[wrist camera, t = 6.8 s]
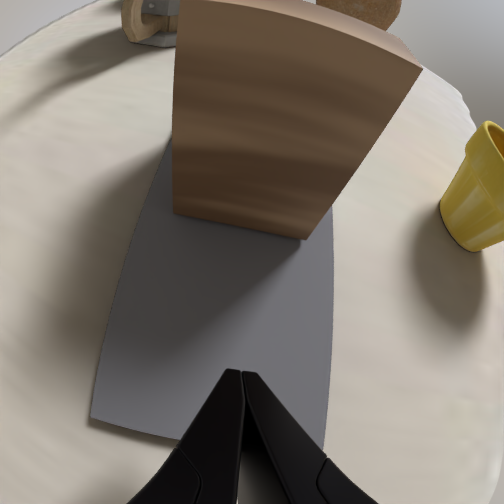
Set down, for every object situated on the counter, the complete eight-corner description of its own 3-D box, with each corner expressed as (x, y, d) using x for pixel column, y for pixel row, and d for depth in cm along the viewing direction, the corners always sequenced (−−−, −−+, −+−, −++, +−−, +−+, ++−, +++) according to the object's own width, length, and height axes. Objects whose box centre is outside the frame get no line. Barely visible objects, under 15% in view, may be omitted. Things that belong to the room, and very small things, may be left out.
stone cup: (282, 55, 32) (316, -45, 19) (299, 33, 37) (327, -44, 24) (391, 103, 32) (444, 15, 19) (387, 71, 38) (426, 1, 25)
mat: (315, 447, 14) (322, 450, 13) (95, 415, 12) (89, 416, 12) (322, 130, 26) (326, 122, 25) (192, 100, 24) (193, 92, 23)
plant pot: (422, 164, 27) (474, 101, 19) (484, 209, 27) (537, 161, 19) (424, 240, 22) (503, 170, 14) (493, 284, 22) (565, 239, 14)
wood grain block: (306, 240, 18) (423, 68, 7) (173, 213, 17) (180, -2, 6) (306, 113, 24) (358, -8, 13) (216, 92, 23) (242, -39, 12)
